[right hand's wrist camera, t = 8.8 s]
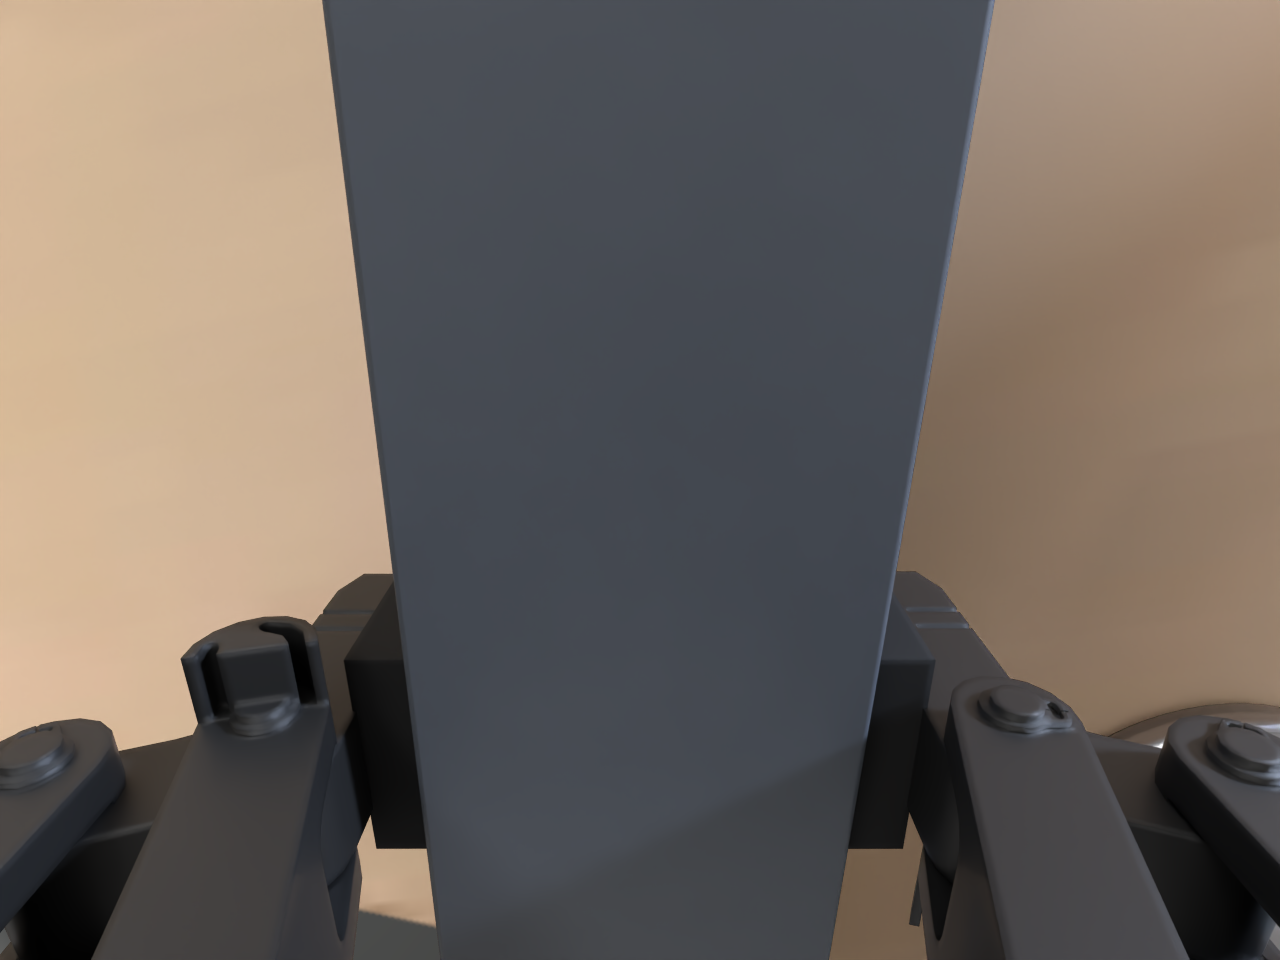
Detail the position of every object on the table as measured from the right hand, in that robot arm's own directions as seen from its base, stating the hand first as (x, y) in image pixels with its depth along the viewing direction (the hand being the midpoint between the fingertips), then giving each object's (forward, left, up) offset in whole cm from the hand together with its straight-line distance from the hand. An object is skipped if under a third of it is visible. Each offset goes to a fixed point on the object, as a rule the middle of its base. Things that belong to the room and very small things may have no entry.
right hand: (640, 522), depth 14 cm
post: (+19, +4, -1) cm, 19 cm away
